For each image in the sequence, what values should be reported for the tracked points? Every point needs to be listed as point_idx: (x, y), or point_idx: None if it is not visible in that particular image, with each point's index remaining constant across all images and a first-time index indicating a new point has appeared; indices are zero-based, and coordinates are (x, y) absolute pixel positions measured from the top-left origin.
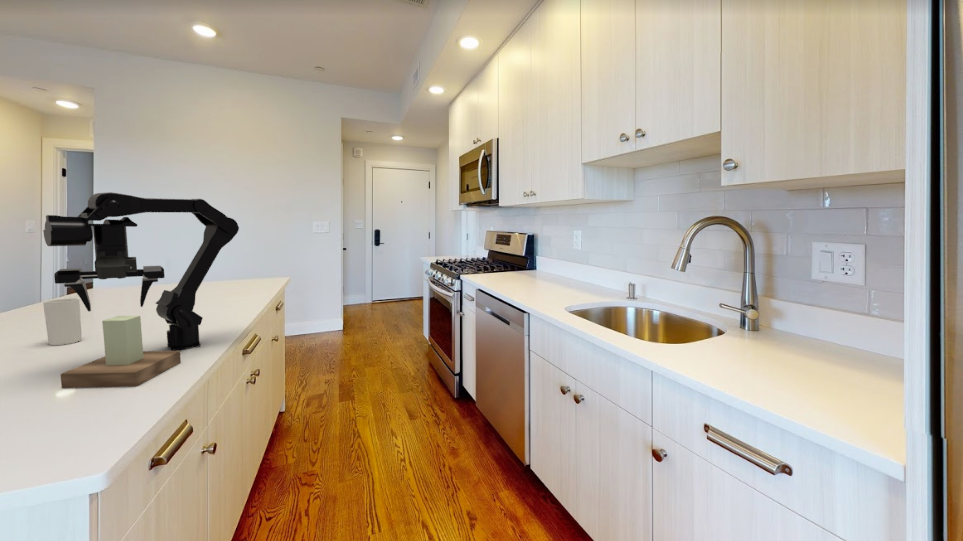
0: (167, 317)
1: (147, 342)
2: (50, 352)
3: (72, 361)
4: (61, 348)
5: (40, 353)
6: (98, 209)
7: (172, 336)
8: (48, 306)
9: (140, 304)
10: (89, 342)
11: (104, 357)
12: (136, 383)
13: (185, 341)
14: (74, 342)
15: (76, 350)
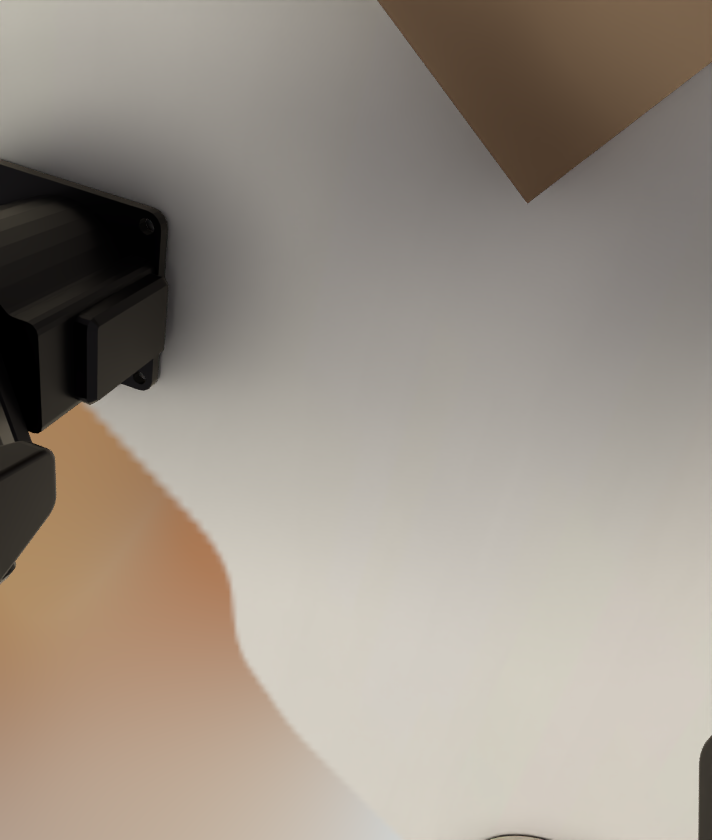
0: None
1: (249, 562)
2: (662, 782)
3: (686, 520)
4: (594, 803)
5: None
6: None
7: (85, 287)
8: None
9: (21, 471)
10: (463, 792)
11: (691, 43)
12: None
13: (39, 207)
14: (514, 837)
15: (564, 716)
